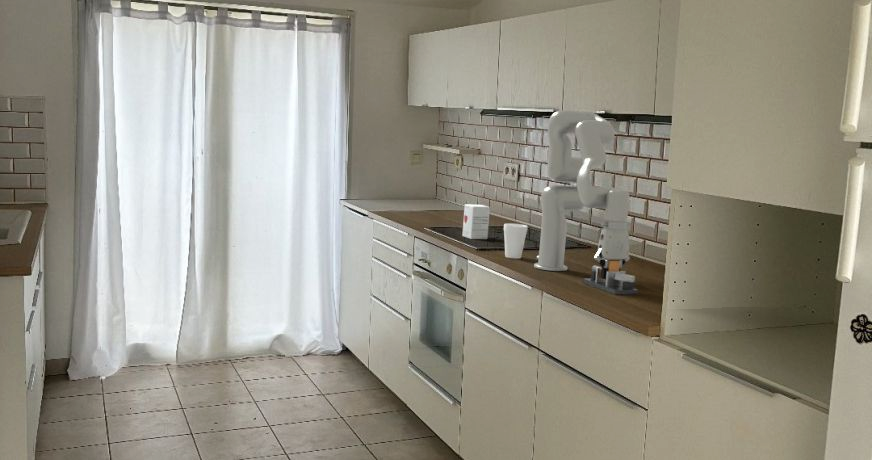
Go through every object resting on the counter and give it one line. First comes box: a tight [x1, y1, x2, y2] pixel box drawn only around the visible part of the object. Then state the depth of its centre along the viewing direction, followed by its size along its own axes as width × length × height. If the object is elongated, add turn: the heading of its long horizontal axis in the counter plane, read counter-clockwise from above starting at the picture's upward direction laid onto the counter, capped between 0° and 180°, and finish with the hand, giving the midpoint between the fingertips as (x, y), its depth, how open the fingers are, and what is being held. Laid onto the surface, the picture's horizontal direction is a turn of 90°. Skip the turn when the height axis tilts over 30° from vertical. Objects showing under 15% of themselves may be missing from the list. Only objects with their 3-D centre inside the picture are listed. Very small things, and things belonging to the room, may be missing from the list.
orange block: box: [603, 260, 620, 280], centre depth 308 cm, size 4×4×7 cm
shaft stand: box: [582, 264, 639, 296], centre depth 309 cm, size 20×9×6 cm, turn 22°
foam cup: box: [503, 223, 528, 259], centre depth 363 cm, size 10×9×13 cm
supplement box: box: [461, 203, 491, 240], centre depth 413 cm, size 9×9×15 cm
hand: (610, 278), depth 309 cm, fingers closed on orange block, 3 cm apart
